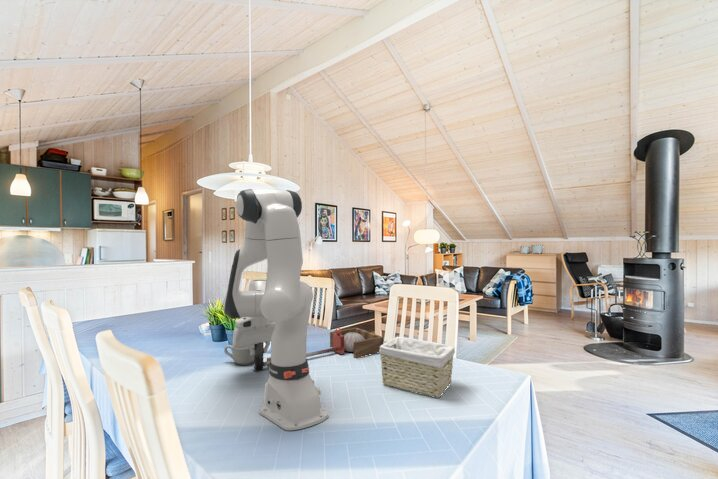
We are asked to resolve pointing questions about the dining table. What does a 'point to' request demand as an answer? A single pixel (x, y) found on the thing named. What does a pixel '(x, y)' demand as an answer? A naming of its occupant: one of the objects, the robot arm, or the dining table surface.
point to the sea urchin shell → (351, 341)
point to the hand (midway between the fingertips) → (258, 353)
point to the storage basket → (417, 365)
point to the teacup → (240, 354)
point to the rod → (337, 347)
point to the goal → (362, 342)
